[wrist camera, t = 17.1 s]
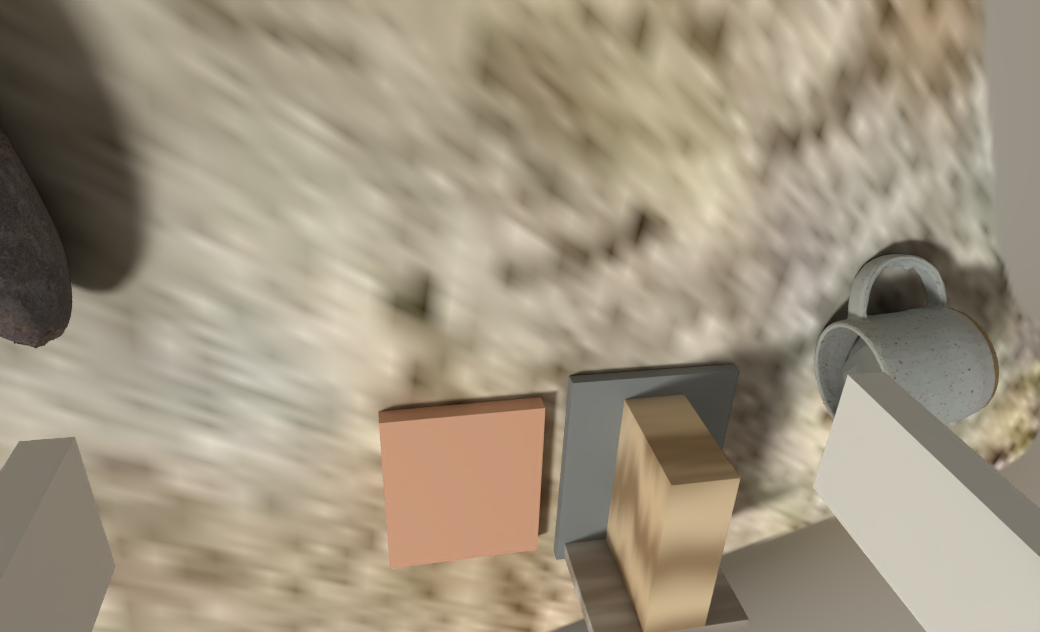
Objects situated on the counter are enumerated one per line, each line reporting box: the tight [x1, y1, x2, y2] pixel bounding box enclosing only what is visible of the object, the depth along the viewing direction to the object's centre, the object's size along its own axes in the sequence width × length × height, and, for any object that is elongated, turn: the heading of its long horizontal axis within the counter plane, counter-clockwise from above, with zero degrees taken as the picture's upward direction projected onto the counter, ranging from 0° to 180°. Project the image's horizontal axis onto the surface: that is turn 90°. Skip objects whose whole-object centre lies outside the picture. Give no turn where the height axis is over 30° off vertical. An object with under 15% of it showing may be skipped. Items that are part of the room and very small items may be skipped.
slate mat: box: [554, 364, 739, 560], centre depth 50 cm, size 15×11×1 cm
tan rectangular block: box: [564, 395, 749, 632], centre depth 46 cm, size 13×10×8 cm
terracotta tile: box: [379, 397, 545, 568], centre depth 48 cm, size 2×10×12 cm
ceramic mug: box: [814, 254, 999, 425], centre depth 45 cm, size 11×8×8 cm
